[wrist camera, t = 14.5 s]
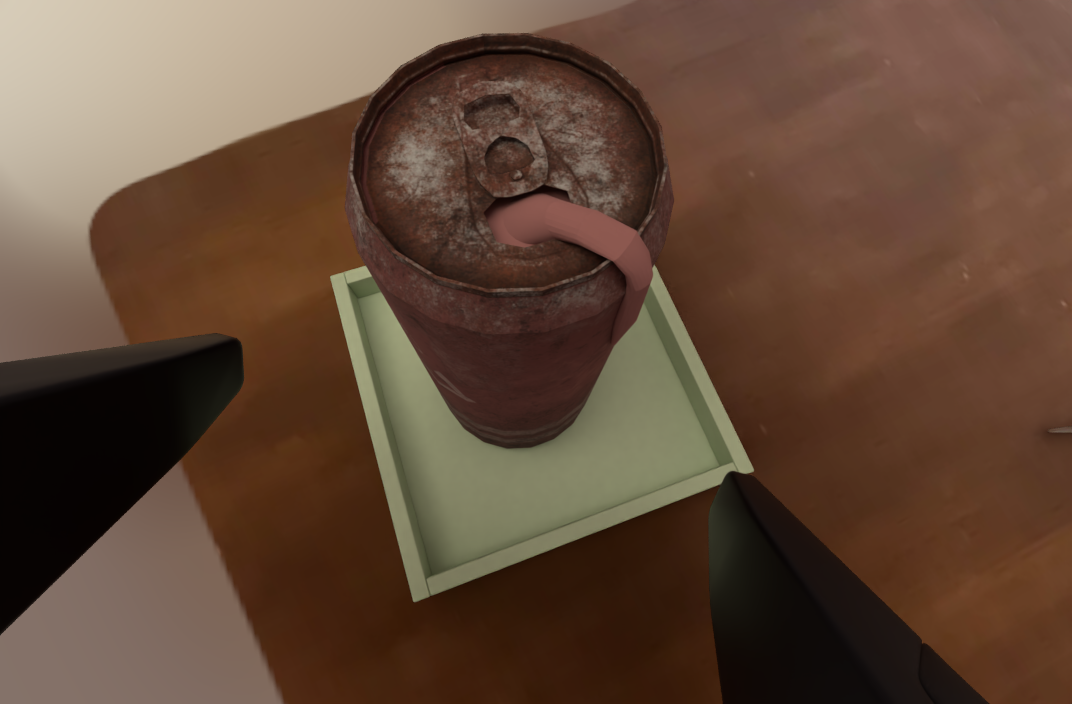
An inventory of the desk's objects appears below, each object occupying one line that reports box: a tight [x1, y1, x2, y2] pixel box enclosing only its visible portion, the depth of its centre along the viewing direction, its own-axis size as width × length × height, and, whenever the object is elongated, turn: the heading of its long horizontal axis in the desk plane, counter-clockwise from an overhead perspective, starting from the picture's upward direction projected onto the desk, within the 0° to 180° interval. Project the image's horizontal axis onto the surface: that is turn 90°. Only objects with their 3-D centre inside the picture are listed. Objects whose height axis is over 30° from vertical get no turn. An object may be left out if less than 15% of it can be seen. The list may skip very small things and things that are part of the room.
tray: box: [330, 264, 754, 602], centre depth 22 cm, size 13×13×2 cm
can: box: [345, 33, 674, 449], centre depth 15 cm, size 6×6×14 cm
